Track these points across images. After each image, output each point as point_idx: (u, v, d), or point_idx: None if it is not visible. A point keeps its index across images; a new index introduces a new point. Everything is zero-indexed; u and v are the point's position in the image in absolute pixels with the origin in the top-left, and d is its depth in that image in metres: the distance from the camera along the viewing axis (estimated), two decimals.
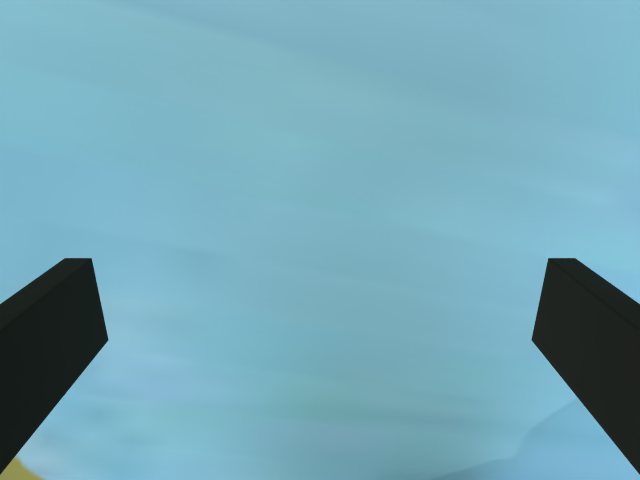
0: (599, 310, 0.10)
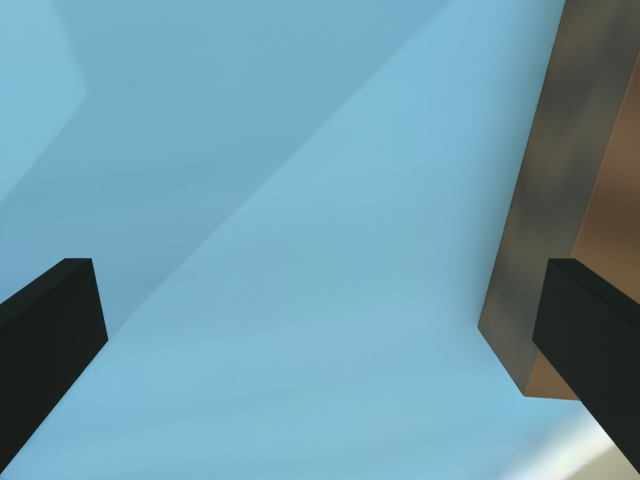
0: (599, 310, 0.10)
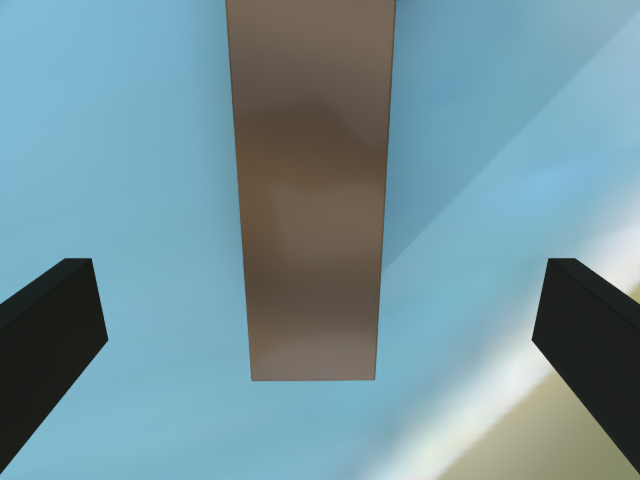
0: (599, 310, 0.10)
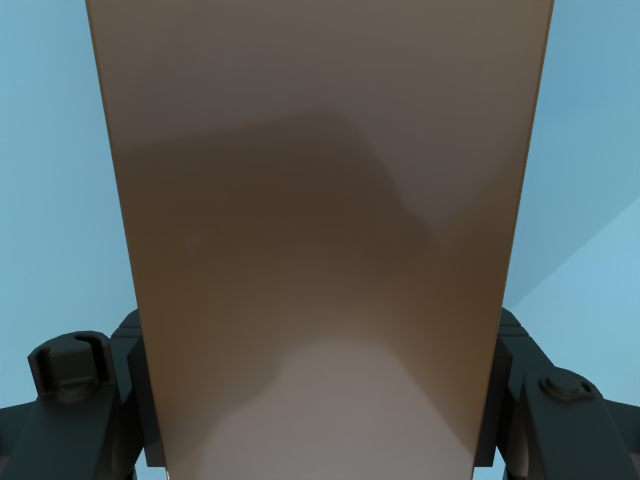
0: None
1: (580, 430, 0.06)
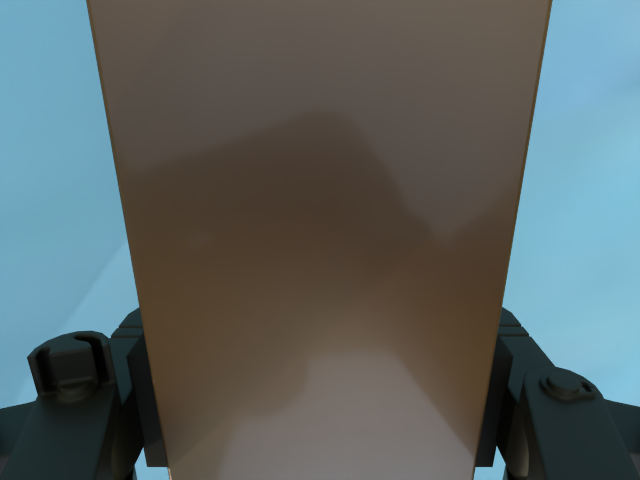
0: None
1: (580, 430, 0.06)
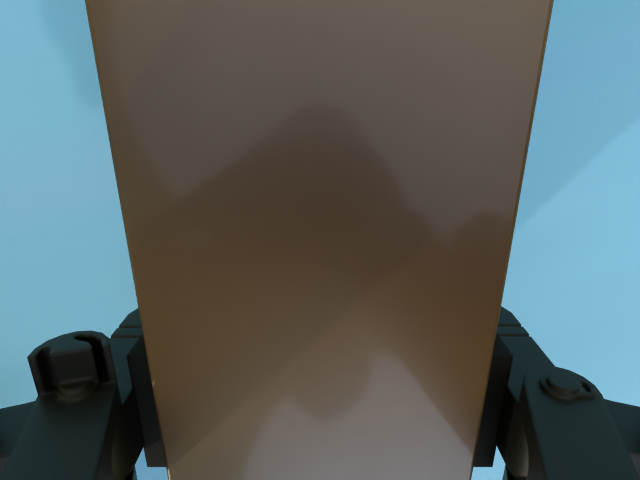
0: None
1: (580, 430, 0.06)
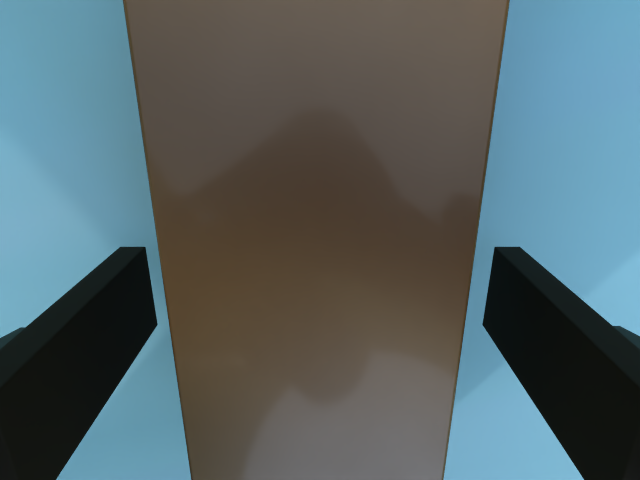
0: (530, 293, 0.11)
1: None
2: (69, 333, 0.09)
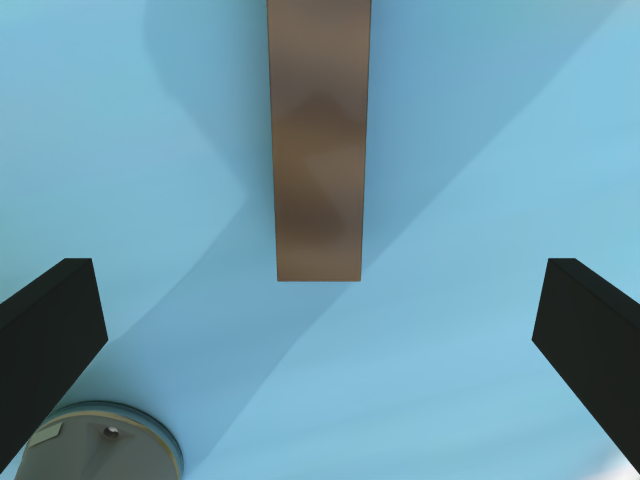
0: (599, 310, 0.10)
1: None
2: None
